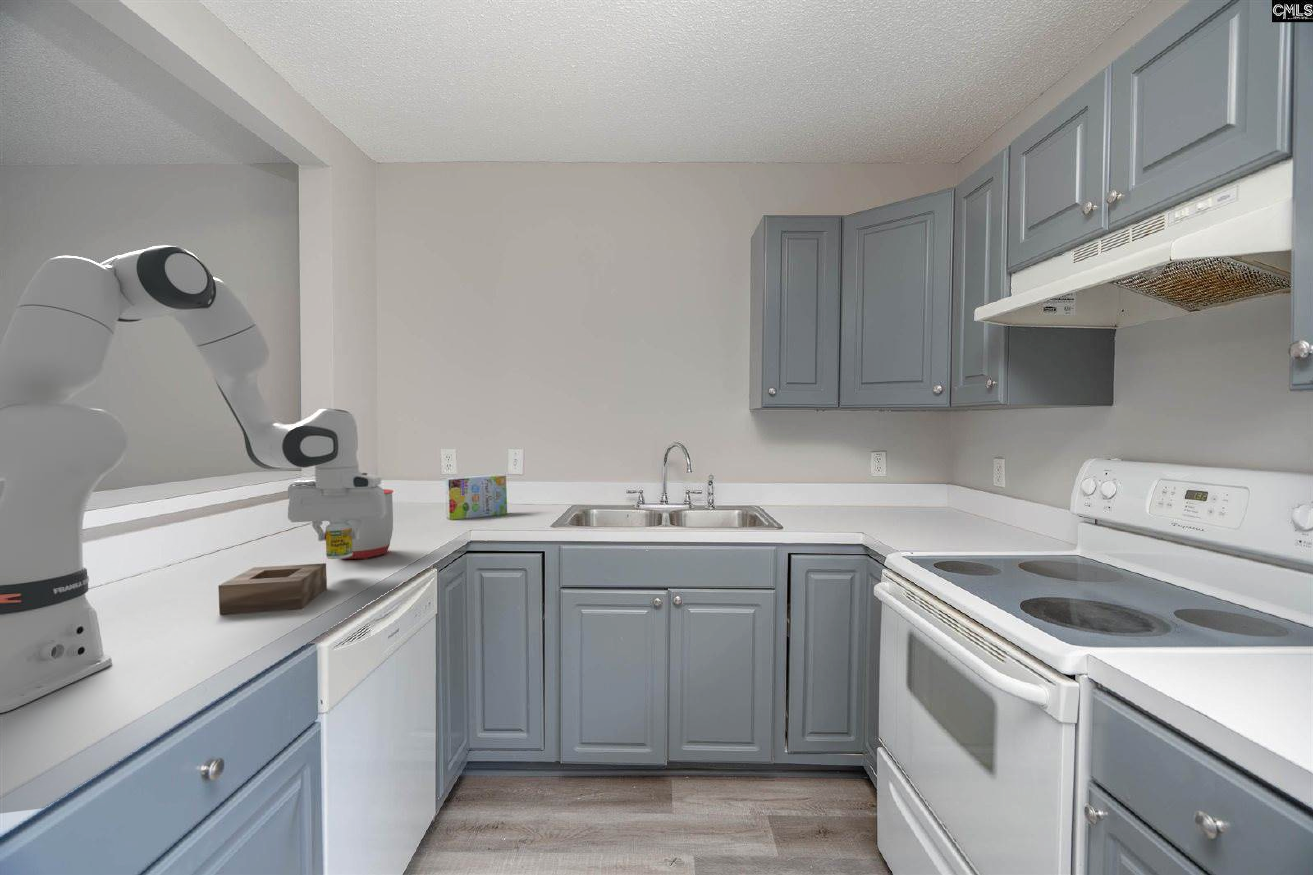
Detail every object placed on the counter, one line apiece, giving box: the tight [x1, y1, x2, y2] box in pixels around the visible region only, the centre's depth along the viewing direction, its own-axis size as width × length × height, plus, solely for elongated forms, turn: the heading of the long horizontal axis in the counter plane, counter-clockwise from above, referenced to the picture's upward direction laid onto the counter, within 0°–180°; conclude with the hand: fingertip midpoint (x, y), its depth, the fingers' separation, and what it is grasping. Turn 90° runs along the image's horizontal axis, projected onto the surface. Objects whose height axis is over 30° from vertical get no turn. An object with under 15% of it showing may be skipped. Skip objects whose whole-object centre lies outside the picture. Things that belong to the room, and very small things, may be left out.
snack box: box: [445, 474, 508, 521], centre depth 221 cm, size 21×6×15 cm, turn 121°
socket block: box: [218, 562, 328, 615], centre depth 119 cm, size 14×14×6 cm
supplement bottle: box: [325, 516, 353, 560], centre depth 136 cm, size 5×5×10 cm
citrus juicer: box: [346, 488, 394, 560], centre depth 158 cm, size 16×17×20 cm
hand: (339, 539), depth 136 cm, fingers closed on supplement bottle, 5 cm apart
